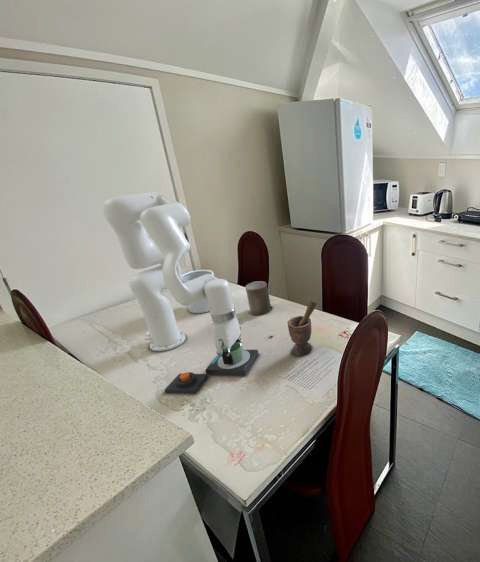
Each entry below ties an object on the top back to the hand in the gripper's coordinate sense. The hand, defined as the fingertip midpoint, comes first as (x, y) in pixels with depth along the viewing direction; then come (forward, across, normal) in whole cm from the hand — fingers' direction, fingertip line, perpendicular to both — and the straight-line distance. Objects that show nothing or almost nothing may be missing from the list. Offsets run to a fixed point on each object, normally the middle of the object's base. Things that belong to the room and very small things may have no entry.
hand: (233, 356), depth 113 cm
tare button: (+1, +11, -12) cm, 16 cm away
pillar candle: (+4, -41, -7) cm, 42 cm away
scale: (+4, 0, -1) cm, 4 cm away
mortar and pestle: (+4, -11, +23) cm, 26 cm away
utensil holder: (+4, -44, -37) cm, 57 cm away
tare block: (+4, +11, -12) cm, 16 cm away
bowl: (+1, 0, 0) cm, 1 cm away
